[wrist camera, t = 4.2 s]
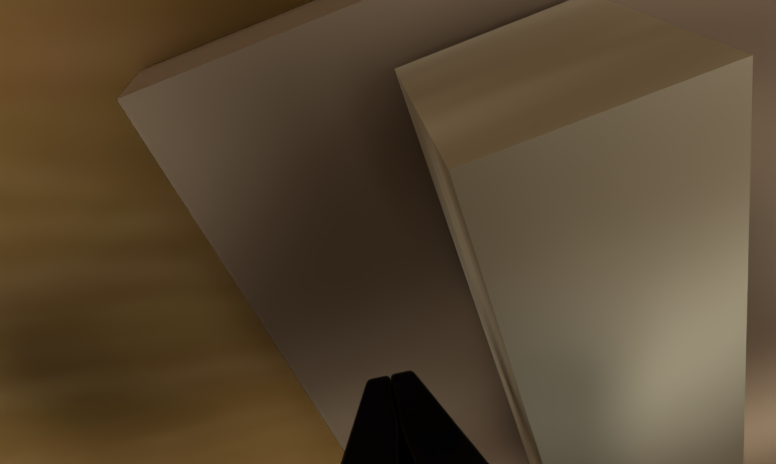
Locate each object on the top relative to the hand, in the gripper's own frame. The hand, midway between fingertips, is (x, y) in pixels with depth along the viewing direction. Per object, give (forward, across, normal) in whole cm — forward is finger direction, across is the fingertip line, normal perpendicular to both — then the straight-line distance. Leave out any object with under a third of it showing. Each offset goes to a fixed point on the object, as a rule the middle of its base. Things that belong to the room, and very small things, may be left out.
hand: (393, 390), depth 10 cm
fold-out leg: (+1, -4, +3) cm, 5 cm away
